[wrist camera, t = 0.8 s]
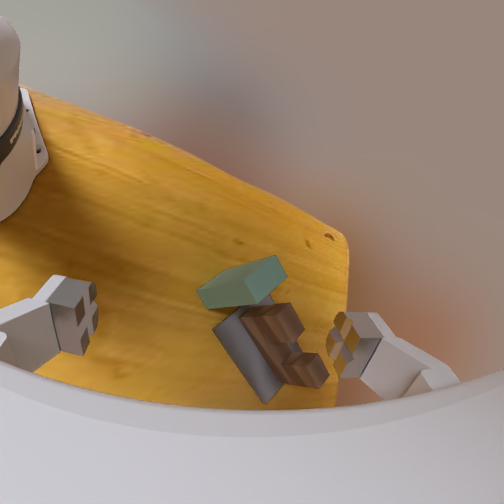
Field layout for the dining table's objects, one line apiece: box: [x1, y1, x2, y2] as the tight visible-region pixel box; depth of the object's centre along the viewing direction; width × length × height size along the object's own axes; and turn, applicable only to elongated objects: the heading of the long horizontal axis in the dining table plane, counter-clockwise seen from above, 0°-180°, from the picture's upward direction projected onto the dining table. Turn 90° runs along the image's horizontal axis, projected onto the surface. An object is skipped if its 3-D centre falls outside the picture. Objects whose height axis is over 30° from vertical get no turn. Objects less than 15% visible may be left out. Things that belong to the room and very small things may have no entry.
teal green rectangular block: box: [196, 255, 287, 309], centre depth 39 cm, size 6×3×12 cm, turn 128°
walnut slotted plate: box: [212, 294, 329, 404], centre depth 43 cm, size 12×16×10 cm
